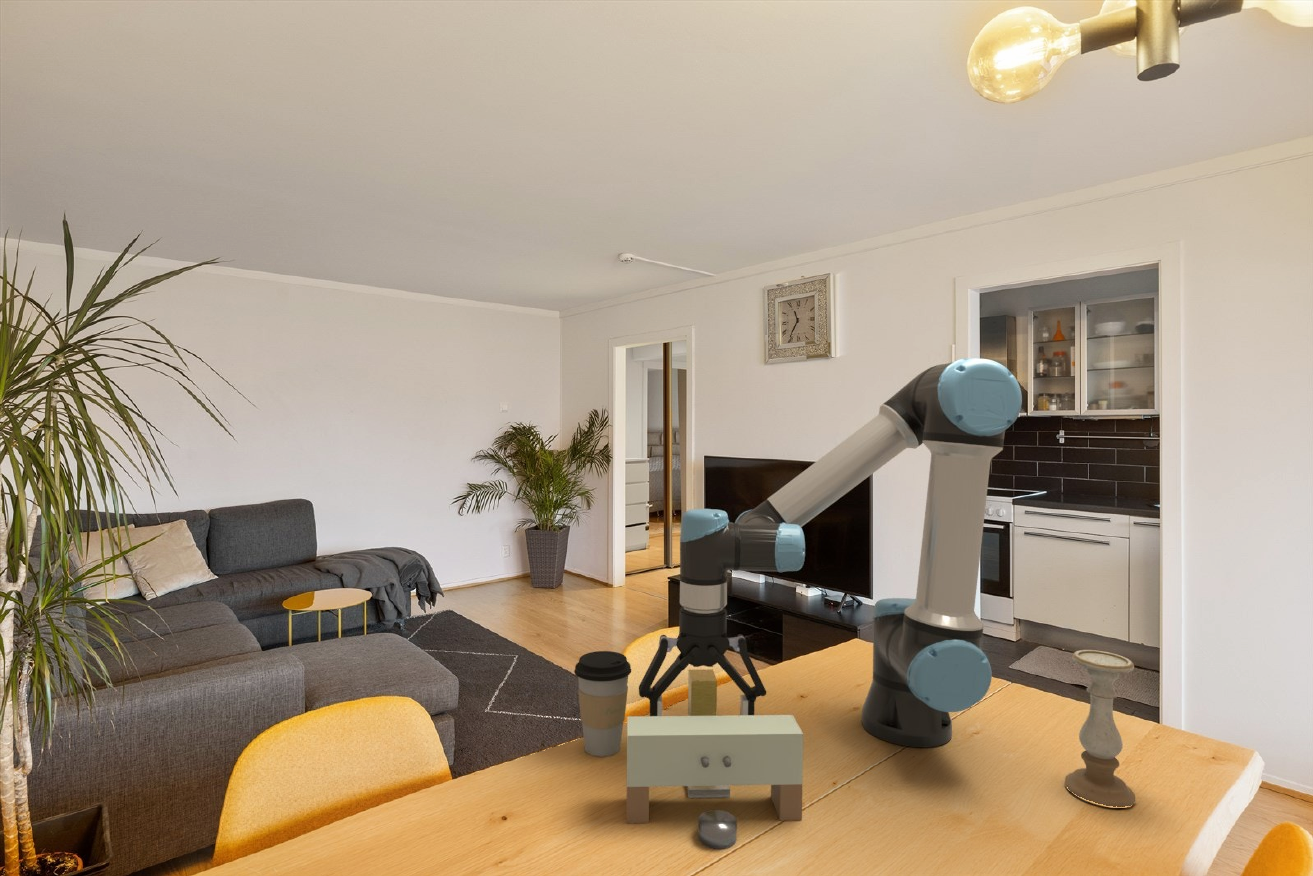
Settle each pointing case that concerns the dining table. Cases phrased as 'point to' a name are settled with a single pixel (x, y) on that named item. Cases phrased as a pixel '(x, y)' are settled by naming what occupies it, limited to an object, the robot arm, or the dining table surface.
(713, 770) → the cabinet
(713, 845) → the dark grey metallic disc
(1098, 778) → the candle holder
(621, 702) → the coffee cup
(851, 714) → the dining table surface
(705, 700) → the blade tool
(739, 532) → the robot arm
